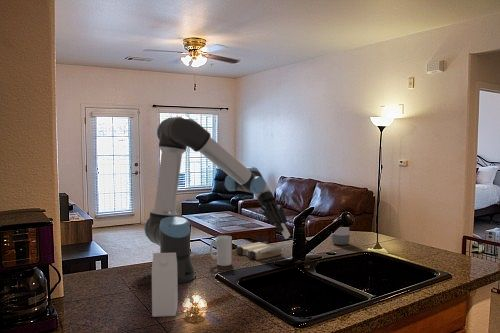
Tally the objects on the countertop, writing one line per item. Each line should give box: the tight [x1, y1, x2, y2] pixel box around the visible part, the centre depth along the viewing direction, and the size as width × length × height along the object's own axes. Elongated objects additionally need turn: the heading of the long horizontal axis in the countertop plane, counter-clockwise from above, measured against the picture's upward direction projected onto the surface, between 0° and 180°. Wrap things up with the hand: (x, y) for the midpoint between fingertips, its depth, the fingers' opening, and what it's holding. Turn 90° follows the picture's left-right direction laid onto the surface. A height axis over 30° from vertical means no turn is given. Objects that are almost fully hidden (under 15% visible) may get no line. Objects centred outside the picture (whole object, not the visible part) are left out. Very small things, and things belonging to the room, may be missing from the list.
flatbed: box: [235, 241, 282, 261], centre depth 198 cm, size 16×17×4 cm
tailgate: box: [258, 239, 294, 253], centre depth 186 cm, size 1×14×14 cm
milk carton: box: [151, 252, 179, 318], centre depth 129 cm, size 7×7×19 cm
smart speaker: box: [331, 218, 351, 246], centre depth 216 cm, size 10×9×14 cm
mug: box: [209, 235, 233, 267], centre depth 180 cm, size 10×7×12 cm, turn 112°
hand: (287, 236), depth 180 cm, fingers closed
